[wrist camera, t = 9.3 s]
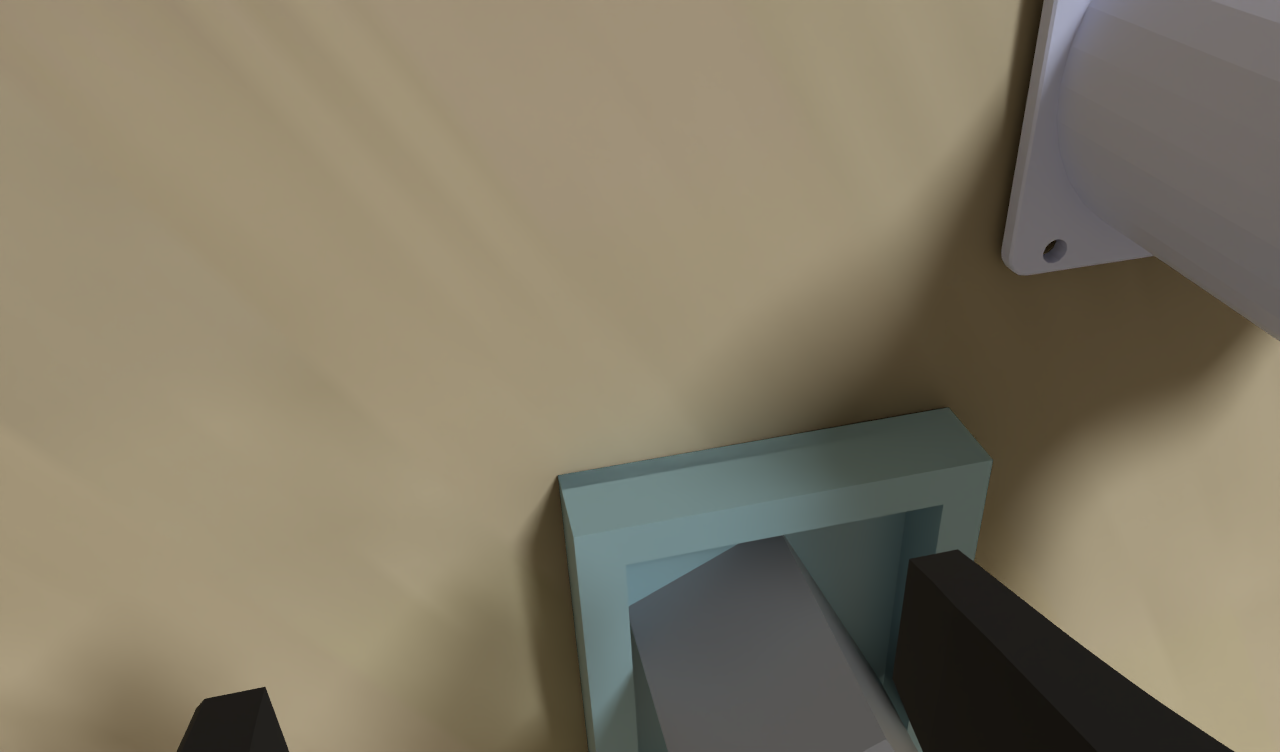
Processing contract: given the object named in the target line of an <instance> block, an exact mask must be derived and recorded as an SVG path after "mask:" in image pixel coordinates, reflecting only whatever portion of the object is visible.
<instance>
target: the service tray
mask: <svg viewBox="0 0 1280 752" xmlns="http://www.w3.org/2000/svg"><path fill="white" fill-rule="evenodd" d="M992 463H993V459H992V458H991V457H990V456H989V455H988V453H987V452H986V451H985V450H984V449H983V447H982V446H981V445H980V444H979V443H978V442H977V440H976V439H975V438H974V437H973V436H972V434H971V433H970V432H969V431H968V430H967V429H966V427H965V426H964V425H963V424H962V423H961V421H960V420H959V419H958V418H957V417H956V416H955V414H954V413H953V412H952V411H951V410H950V408H943V409H937V410H931V411H926V412H920V413H914V414H908V415H903V416H897V417H891V418H885V419H880V420H874V421H868V422H862V423H857V424H851V425H845V426H839V427H834V428H828V429H822V430H816V431H811V432H805V433H799V434H793V435H788V436H782V437H776V438H770V439H765V440H759V441H753V442H747V443H742V444H736V445H730V446H724V447H719V448H713V449H707V450H701V451H696V452H690V453H684V454H678V455H673V456H667V457H661V458H655V459H650V460H644V461H638V462H633V463H627V464H621V465H615V466H610V467H604V468H598V469H592V470H587V471H581V472H575V473H569V474H564V475H558V481H559V490H560V499H561V508H562V517H563V526H564V535H565V544H566V553H567V562H568V571H569V580H570V589H571V598H572V607H573V616H574V625H575V634H576V643H577V652H578V661H579V670H580V679H581V688H582V697H583V706H584V715H585V724H586V733H587V742H588V751H589V752H668V750H667V746H666V743H665V740H664V736H663V733H662V729H661V726H660V723H659V719H658V716H657V712H656V709H655V705H654V702H653V699H652V695H651V692H650V688H649V685H648V682H647V678H646V675H645V671H644V668H643V664H642V661H641V658H640V654H639V651H638V647H637V644H636V641H635V637H634V634H633V630H632V627H631V624H630V620H629V606H630V605H632V604H634V603H635V602H637V601H639V600H641V599H643V598H644V597H646V596H648V595H650V594H651V593H653V592H655V591H657V590H658V589H660V588H662V587H664V586H665V585H667V584H669V583H671V582H672V581H674V580H676V579H678V578H679V577H681V576H683V575H685V574H686V573H688V572H690V571H692V570H693V569H695V568H697V567H699V566H700V565H702V564H704V563H706V562H707V561H709V560H711V559H713V558H714V557H716V556H718V555H720V554H721V553H723V552H725V551H727V550H728V549H730V548H732V547H734V546H735V545H737V544H739V543H744V542H749V541H754V540H760V539H765V538H770V537H775V536H781V535H785V537H786V538H787V540H788V541H789V543H790V545H791V546H792V548H793V549H794V551H795V552H796V554H797V555H798V557H799V558H800V560H801V561H802V563H803V564H804V566H805V567H806V569H807V570H808V572H809V573H810V575H811V576H812V578H813V579H814V581H815V582H816V584H817V585H818V587H819V588H820V590H821V591H822V593H823V595H824V596H825V598H826V599H827V601H828V602H829V604H830V605H831V607H832V608H833V610H834V611H835V613H836V614H837V616H838V617H839V619H840V620H841V622H842V623H843V625H844V626H845V628H846V629H847V631H848V632H849V634H850V635H851V637H852V638H853V640H854V641H855V643H856V645H857V646H858V648H859V649H860V651H861V652H862V654H863V655H864V657H865V658H866V660H867V661H868V663H869V664H870V666H871V667H872V669H873V670H874V672H875V673H876V675H877V676H878V678H879V679H880V681H881V683H882V685H883V687H884V689H885V691H886V692H887V694H888V696H889V698H890V700H891V702H892V704H893V706H894V707H895V709H896V711H897V713H898V715H899V717H900V719H901V721H902V722H903V724H904V726H905V728H906V730H907V732H908V734H909V735H910V737H911V739H912V741H913V743H914V745H915V747H916V749H917V750H918V752H923V751H922V749H921V746H920V744H919V742H918V739H917V737H916V735H915V733H914V730H913V728H912V726H911V723H910V721H909V718H908V716H907V713H906V711H905V708H904V706H903V704H902V701H901V699H900V696H899V694H898V691H897V689H896V686H895V684H894V681H893V679H892V677H893V670H894V663H895V655H896V648H897V641H898V634H899V627H900V620H901V613H902V606H903V599H904V591H905V584H906V577H907V570H908V563H909V559H911V558H916V557H921V556H926V555H932V554H937V553H942V552H947V551H952V550H957V549H958V550H960V551H961V552H962V553H963V554H965V555H966V556H967V557H969V558H970V559H971V560H973V561H974V558H975V553H976V548H977V542H978V537H979V532H980V527H981V521H982V516H983V511H984V505H985V500H986V495H987V489H988V484H989V479H990V474H991V468H992Z"/></svg>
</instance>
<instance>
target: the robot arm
mask: <svg viewBox="0 0 1280 752" xmlns="http://www.w3.org/2000/svg"><path fill="white" fill-rule="evenodd" d="M1054 240H1056V243H1055V245H1054V247H1053V248H1052V249H1051V250H1050V251H1049V252H1048V253H1045V254H1043V252H1044V250H1045V248H1046V246H1047V245H1048V244H1049V243H1051V242H1052V241H1054ZM1001 255H1002V260H1003V262H1004V264H1005V265H1006V266H1007V267H1008V268H1009V269H1010V270H1012V271H1013V272H1015V273H1016V274H1018V275H1034V274H1040V273H1047V272H1053V271H1060V270H1066V269H1073V268H1079V267H1086V266H1092V265H1099V264H1105V263H1112V262H1118V261H1125V260H1132V259H1138V258H1145V257H1151V256H1155V257H1157V258H1158V259H1160V260H1161V261H1163V262H1164V263H1166V264H1167V265H1169V266H1170V267H1171V268H1173V269H1174V270H1176V271H1177V272H1179V273H1180V274H1182V275H1183V276H1185V277H1186V278H1188V279H1189V280H1191V281H1192V282H1193V283H1195V284H1196V285H1198V286H1199V287H1201V288H1202V289H1204V290H1205V291H1207V292H1208V293H1210V294H1211V295H1213V296H1214V297H1215V298H1217V299H1218V300H1220V301H1221V302H1223V303H1224V304H1226V305H1227V306H1229V307H1230V308H1232V309H1233V310H1235V311H1236V312H1237V313H1239V314H1240V315H1242V316H1243V317H1245V318H1246V319H1248V320H1249V321H1251V322H1252V323H1254V324H1255V325H1257V326H1258V327H1260V328H1261V329H1262V330H1264V331H1265V332H1267V333H1268V334H1270V335H1271V336H1273V337H1274V338H1276V339H1277V340H1279V341H1280V0H1044V2H1043V8H1042V14H1041V20H1040V26H1039V32H1038V38H1037V44H1036V50H1035V55H1034V61H1033V67H1032V73H1031V79H1030V85H1029V91H1028V97H1027V103H1026V108H1025V114H1024V120H1023V126H1022V132H1021V138H1020V144H1019V150H1018V156H1017V161H1016V167H1015V173H1014V179H1013V185H1012V191H1011V197H1010V203H1009V209H1008V214H1007V220H1006V226H1005V232H1004V238H1003V244H1002V250H1001ZM892 679H893V681H894V684H895V686H896V689H897V691H898V694H899V696H900V699H901V701H902V704H903V706H904V708H905V711H906V713H907V716H908V718H909V721H910V723H911V726H912V728H913V730H914V733H915V735H916V737H917V739H918V742H919V744H920V746H921V749H922V751H923V752H1234V751H1233V750H1231V749H1229V748H1228V747H1226V746H1225V745H1223V744H1222V743H1220V742H1219V741H1217V740H1216V739H1214V738H1213V737H1211V736H1210V735H1208V734H1207V733H1205V732H1204V731H1202V730H1201V729H1199V728H1198V727H1196V726H1195V725H1193V724H1192V723H1190V722H1189V721H1187V720H1186V719H1184V718H1183V717H1181V716H1180V715H1178V714H1177V713H1175V712H1174V711H1172V710H1171V709H1169V708H1168V707H1166V706H1165V705H1163V704H1162V703H1160V702H1159V701H1158V700H1156V699H1155V698H1153V697H1152V696H1150V695H1149V694H1148V693H1146V692H1145V691H1143V690H1142V689H1141V688H1139V687H1138V686H1136V685H1135V684H1133V683H1132V682H1131V681H1129V680H1128V679H1127V678H1125V677H1124V676H1123V675H1121V674H1120V673H1118V672H1117V671H1116V670H1114V669H1113V668H1112V667H1110V666H1109V665H1108V664H1106V663H1105V662H1103V661H1102V660H1101V659H1099V658H1098V657H1097V656H1095V655H1094V654H1093V653H1091V652H1090V651H1089V650H1087V649H1086V648H1085V647H1083V646H1082V645H1081V644H1079V643H1078V642H1077V641H1075V640H1074V639H1073V638H1071V637H1070V636H1069V635H1067V634H1066V633H1065V632H1063V631H1062V630H1061V629H1060V628H1058V627H1057V626H1056V625H1054V624H1053V623H1052V622H1051V621H1049V620H1048V619H1047V618H1045V617H1044V616H1043V615H1042V614H1040V613H1039V612H1038V611H1036V610H1035V609H1034V608H1033V607H1031V606H1030V605H1029V604H1027V603H1026V602H1025V601H1024V600H1022V599H1021V598H1020V597H1018V596H1017V595H1016V594H1015V593H1013V592H1012V591H1011V590H1010V589H1008V588H1007V587H1006V586H1004V585H1003V584H1002V583H1001V582H999V581H998V580H997V579H996V578H994V577H993V576H992V575H990V574H989V573H988V572H987V571H985V570H984V569H983V568H982V567H980V566H979V565H978V564H976V563H975V562H974V561H973V560H971V559H970V558H969V557H967V556H966V555H965V554H963V553H962V552H961V551H960V550H958V549H957V550H952V551H947V552H942V553H937V554H932V555H926V556H921V557H916V558H911V559H909V563H908V570H907V577H906V584H905V591H904V599H903V606H902V613H901V620H900V627H899V634H898V641H897V648H896V655H895V663H894V670H893V677H892ZM177 752H289V750H288V747H287V745H286V742H285V739H284V736H283V734H282V731H281V728H280V726H279V723H278V720H277V717H276V715H275V712H274V709H273V707H272V704H271V701H270V698H269V696H268V693H267V690H266V687H262V688H257V689H252V690H247V691H242V692H237V693H232V694H227V695H222V696H217V697H212V698H207V699H204V700H203V701H202V703H201V704H200V705H199V706H198V707H197V708H196V710H195V712H194V715H193V717H192V719H191V721H190V724H189V726H188V728H187V730H186V732H185V735H184V737H183V739H182V741H181V743H180V745H179V748H178V750H177Z"/></svg>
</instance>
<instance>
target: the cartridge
mask: <svg viewBox="0 0 1280 752" xmlns="http://www.w3.org/2000/svg"><path fill="white" fill-rule="evenodd" d="M629 620H630V624H631V627H632V630H633V634H634V637H635V641H636V644H637V647H638V651H639V654H640V658H641V661H642V664H643V668H644V671H645V675H646V678H647V682H648V685H649V688H650V692H651V695H652V699H653V702H654V705H655V709H656V712H657V716H658V719H659V723H660V726H661V729H662V733H663V736H664V740H665V743H666V746H667V750H668V752H918V750H917V749H916V747H915V745H914V743H913V741H912V739H911V737H910V735H909V734H908V732H907V730H906V728H905V726H904V724H903V722H902V721H901V719H900V717H899V715H898V713H897V711H896V709H895V707H894V706H893V704H892V702H891V700H890V698H889V696H888V694H887V692H886V691H885V689H884V687H883V685H882V683H881V681H880V679H879V678H878V676H877V675H876V673H875V672H874V670H873V669H872V667H871V666H870V664H869V663H868V661H867V660H866V658H865V657H864V655H863V654H862V652H861V651H860V649H859V648H858V646H857V645H856V643H855V641H854V640H853V638H852V637H851V635H850V634H849V632H848V631H847V629H846V628H845V626H844V625H843V623H842V622H841V620H840V619H839V617H838V616H837V614H836V613H835V611H834V610H833V608H832V607H831V605H830V604H829V602H828V601H827V599H826V598H825V596H824V595H823V593H822V591H821V590H820V588H819V587H818V585H817V584H816V582H815V581H814V579H813V578H812V576H811V575H810V573H809V572H808V570H807V569H806V567H805V566H804V564H803V563H802V561H801V560H800V558H799V557H798V555H797V554H796V552H795V551H794V549H793V548H792V546H791V545H790V543H789V541H788V540H787V538H786V537H785V535H781V536H775V537H770V538H765V539H760V540H754V541H749V542H744V543H739V544H737V545H735V546H734V547H732V548H730V549H728V550H727V551H725V552H723V553H721V554H720V555H718V556H716V557H714V558H713V559H711V560H709V561H707V562H706V563H704V564H702V565H700V566H699V567H697V568H695V569H693V570H692V571H690V572H688V573H686V574H685V575H683V576H681V577H679V578H678V579H676V580H674V581H672V582H671V583H669V584H667V585H665V586H664V587H662V588H660V589H658V590H657V591H655V592H653V593H651V594H650V595H648V596H646V597H644V598H643V599H641V600H639V601H637V602H635V603H634V604H632V605H630V606H629Z"/></svg>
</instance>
